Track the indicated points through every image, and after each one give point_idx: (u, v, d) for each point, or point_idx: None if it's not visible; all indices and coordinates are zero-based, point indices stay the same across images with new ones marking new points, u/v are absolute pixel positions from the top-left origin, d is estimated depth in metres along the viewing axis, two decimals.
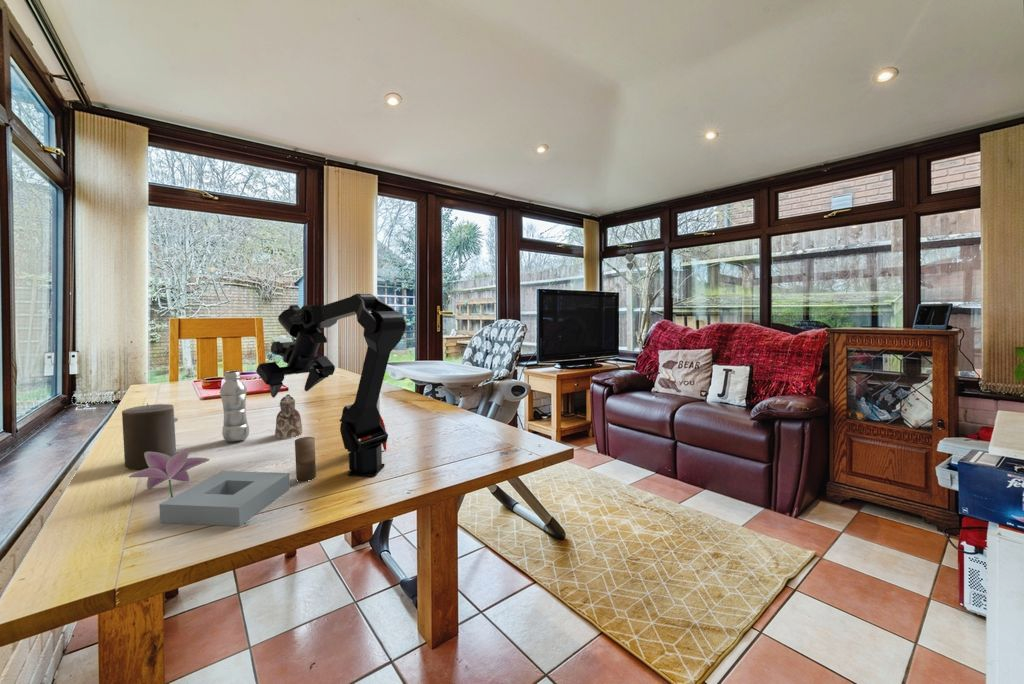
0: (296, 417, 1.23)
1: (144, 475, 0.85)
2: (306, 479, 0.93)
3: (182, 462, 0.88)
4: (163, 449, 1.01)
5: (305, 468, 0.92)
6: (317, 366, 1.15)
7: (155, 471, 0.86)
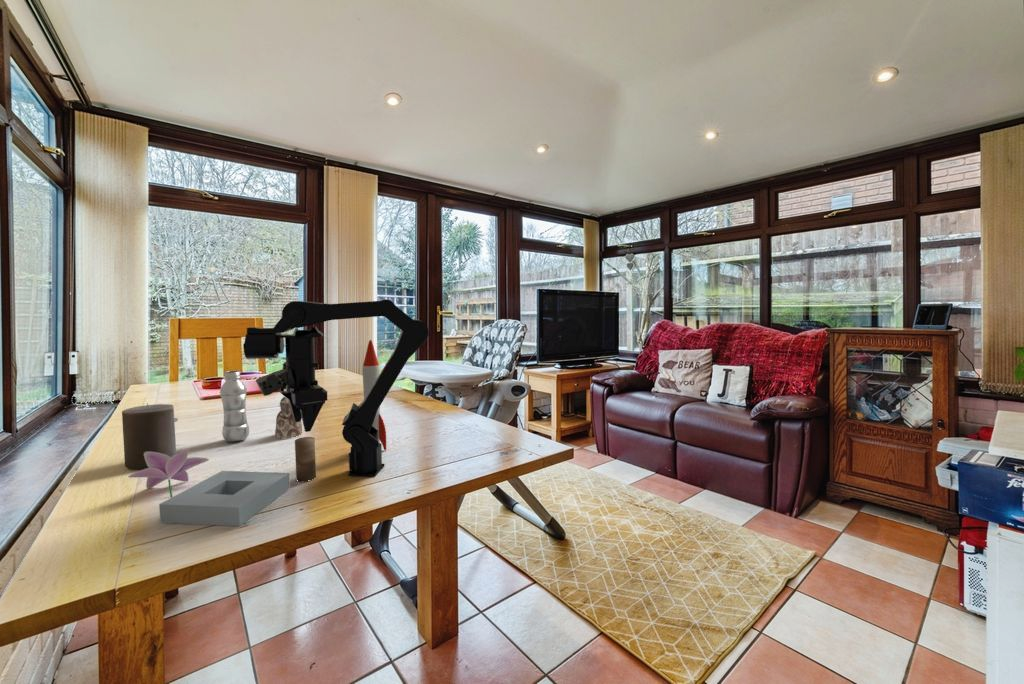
0: None
1: (143, 475, 0.85)
2: (306, 479, 0.93)
3: (182, 462, 0.88)
4: (163, 449, 1.01)
5: (305, 468, 0.92)
6: None
7: (155, 471, 0.86)
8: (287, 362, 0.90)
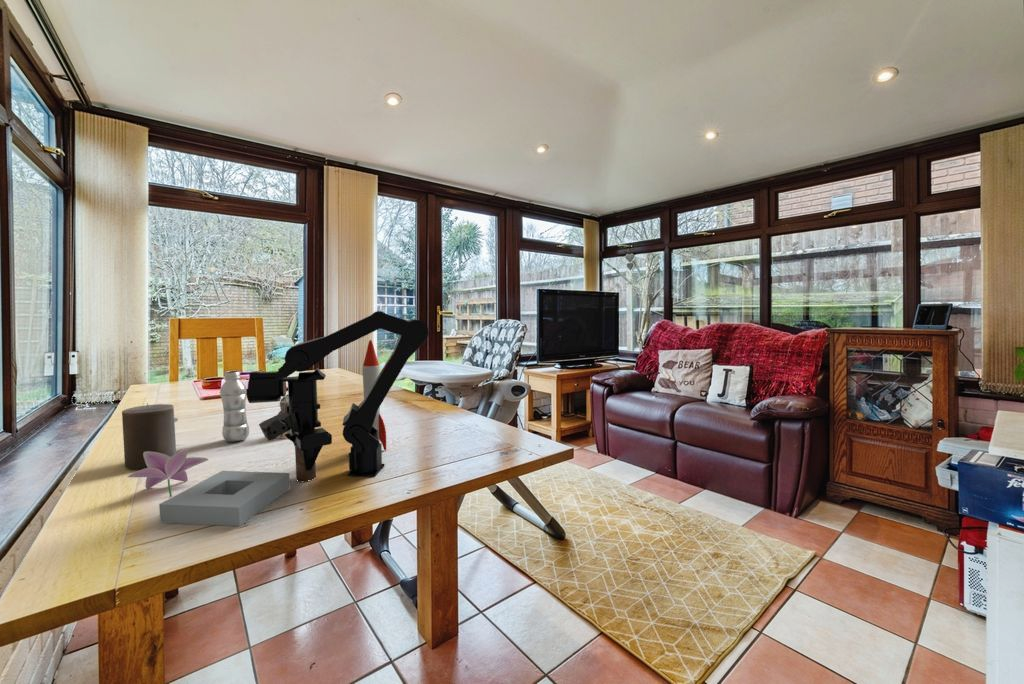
0: None
1: (143, 475, 0.85)
2: (306, 479, 0.93)
3: (181, 462, 0.88)
4: (163, 449, 1.01)
5: None
6: None
7: (154, 471, 0.86)
8: (290, 405, 0.91)
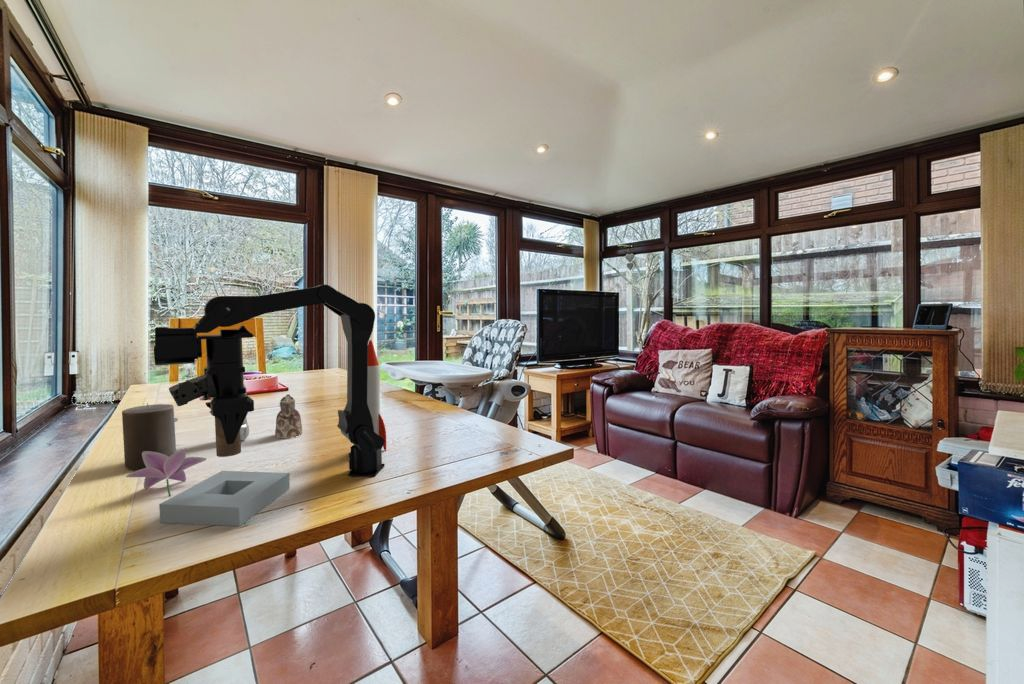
0: (296, 417, 1.23)
1: (141, 475, 0.86)
2: (227, 454, 0.80)
3: (179, 462, 0.88)
4: (163, 449, 1.01)
5: (225, 441, 0.79)
6: None
7: (153, 471, 0.86)
8: (208, 367, 0.78)
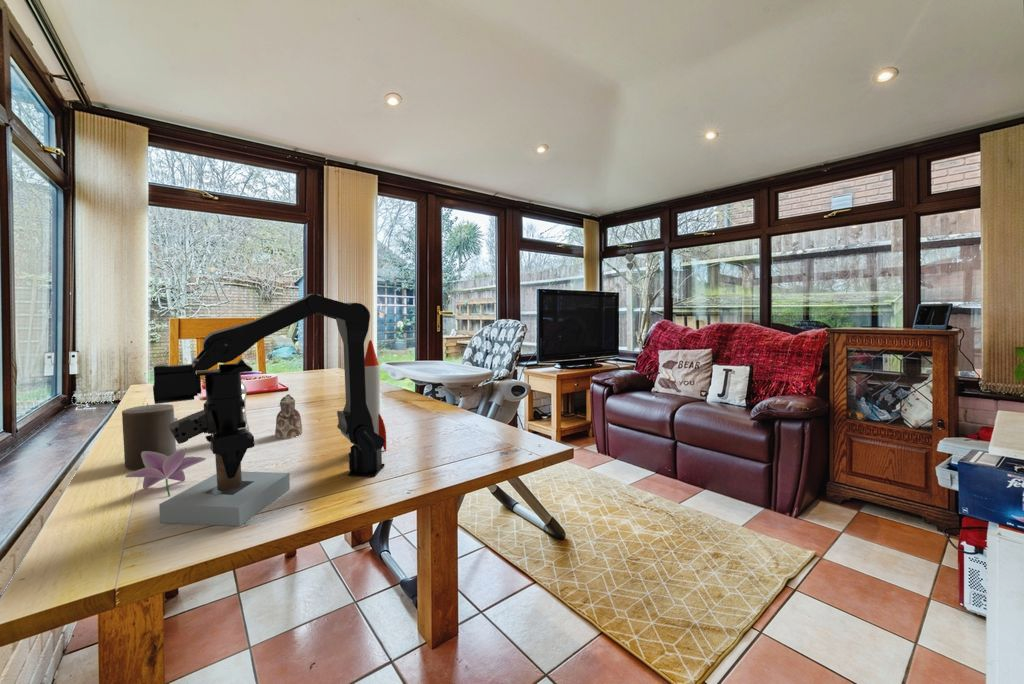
0: (296, 417, 1.23)
1: (140, 475, 0.86)
2: (228, 488, 0.80)
3: (179, 461, 0.89)
4: (163, 449, 1.01)
5: (226, 475, 0.80)
6: None
7: (152, 470, 0.86)
8: (207, 402, 0.78)
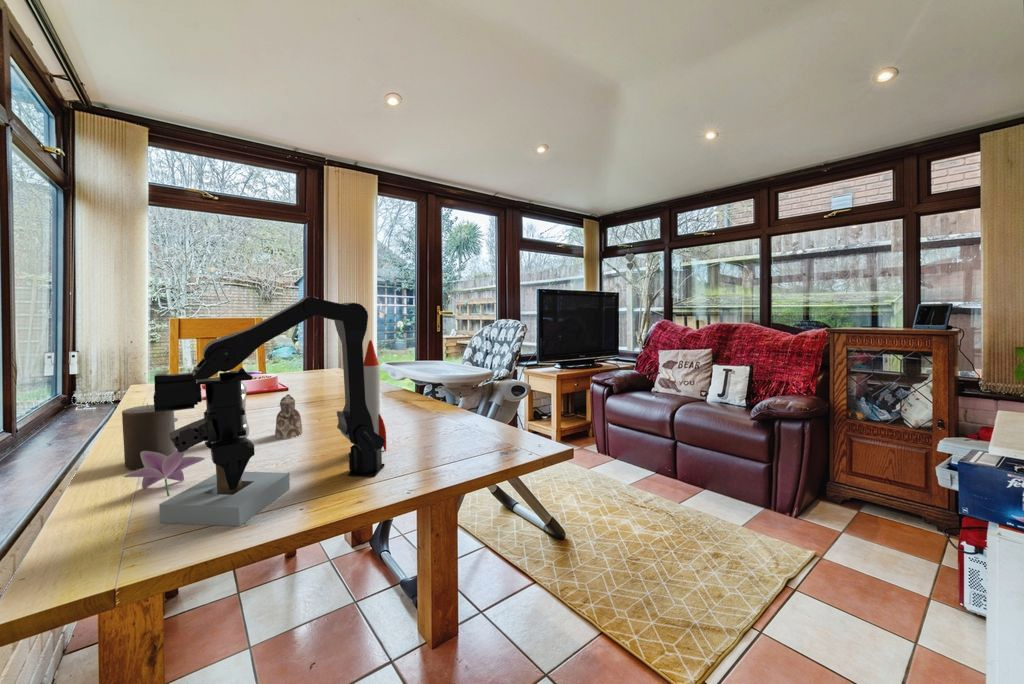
0: (296, 417, 1.23)
1: (139, 475, 0.86)
2: None
3: (178, 461, 0.89)
4: (163, 449, 1.01)
5: (227, 493, 0.80)
6: None
7: (151, 470, 0.86)
8: (208, 411, 0.78)
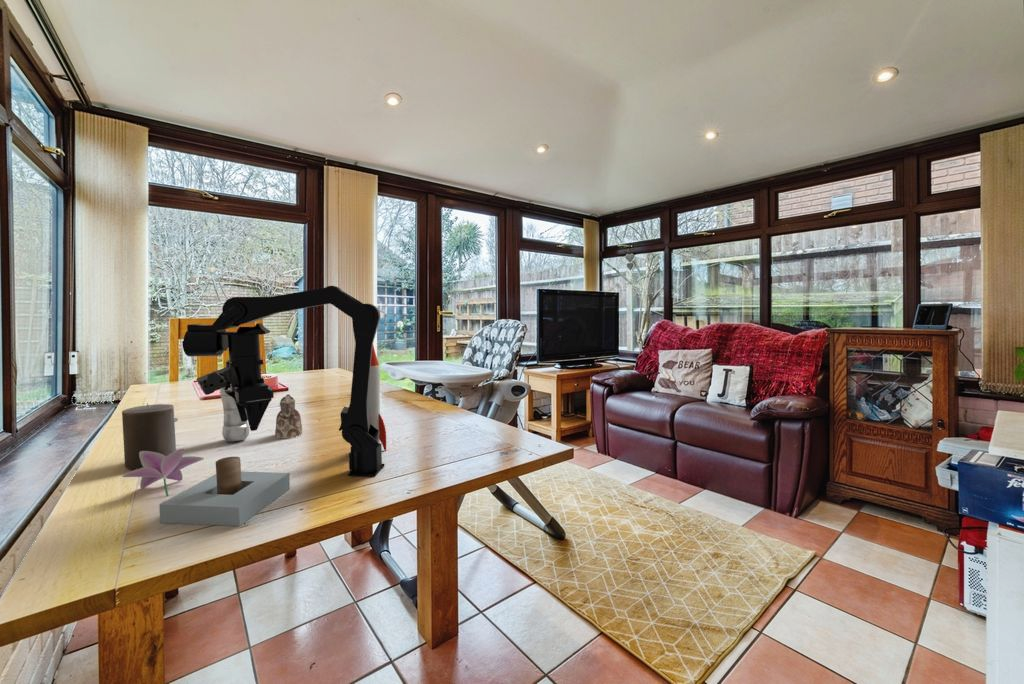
0: (296, 417, 1.23)
1: (138, 474, 0.86)
2: None
3: (177, 461, 0.89)
4: (163, 449, 1.01)
5: (227, 493, 0.80)
6: None
7: (150, 470, 0.86)
8: (230, 360, 0.88)
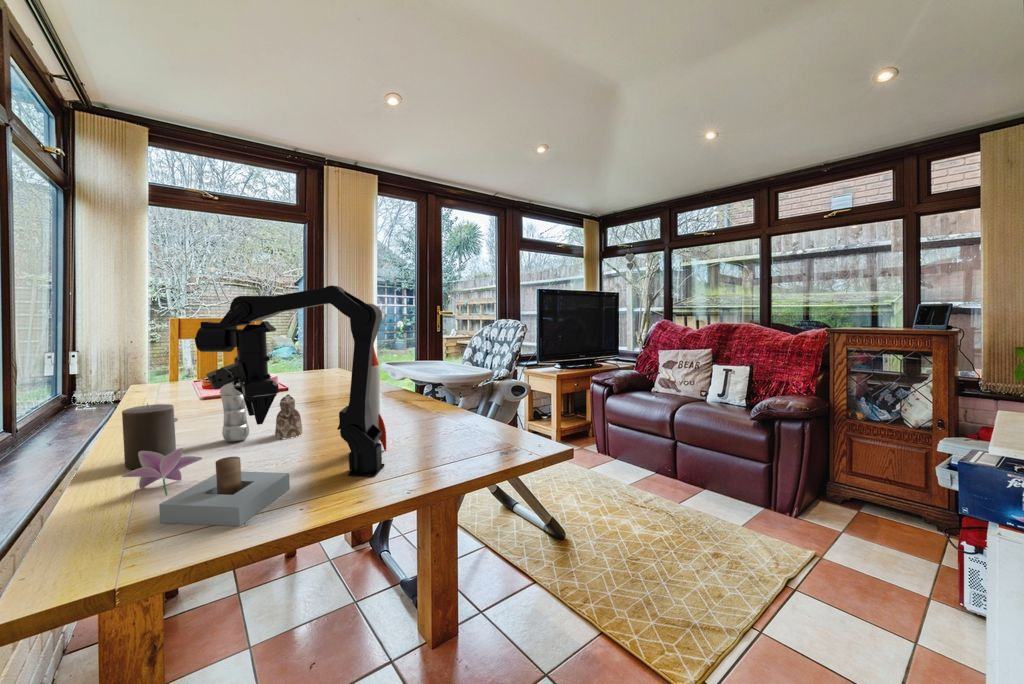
0: (296, 417, 1.23)
1: (137, 474, 0.86)
2: None
3: (176, 461, 0.89)
4: (163, 449, 1.01)
5: (227, 493, 0.80)
6: None
7: (149, 470, 0.86)
8: (238, 356, 0.91)
